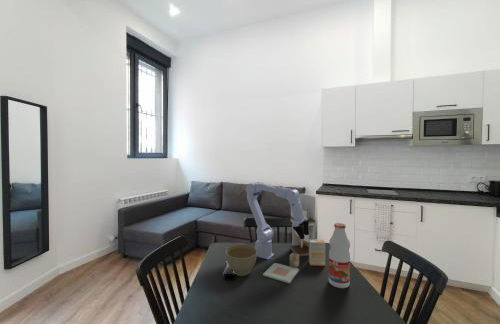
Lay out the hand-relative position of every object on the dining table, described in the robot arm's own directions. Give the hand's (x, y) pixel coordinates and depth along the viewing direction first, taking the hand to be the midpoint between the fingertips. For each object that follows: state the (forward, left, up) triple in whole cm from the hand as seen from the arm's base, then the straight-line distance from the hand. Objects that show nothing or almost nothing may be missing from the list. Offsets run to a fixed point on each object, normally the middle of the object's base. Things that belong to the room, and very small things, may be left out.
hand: (304, 236), depth 126 cm
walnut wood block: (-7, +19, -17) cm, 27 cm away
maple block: (-5, -1, -17) cm, 18 cm away
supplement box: (+5, +7, -17) cm, 19 cm away
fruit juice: (+19, -7, -17) cm, 26 cm away
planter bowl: (-27, -21, -17) cm, 38 cm away
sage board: (-8, -12, -17) cm, 22 cm away
